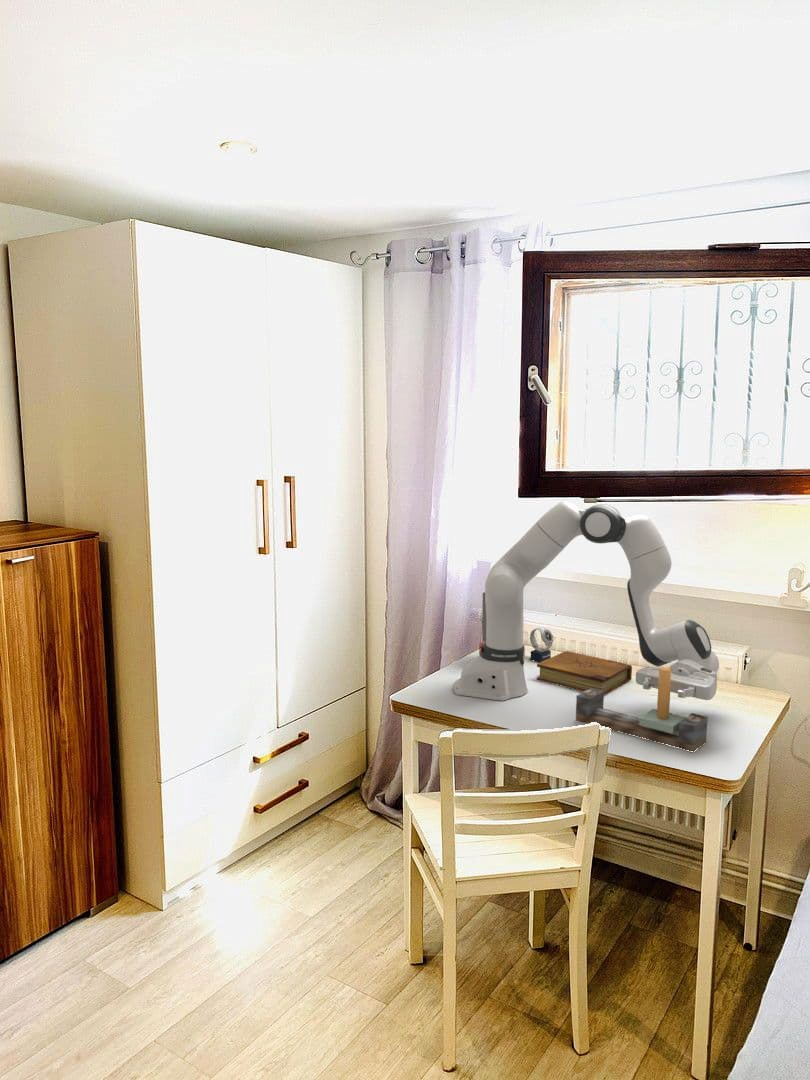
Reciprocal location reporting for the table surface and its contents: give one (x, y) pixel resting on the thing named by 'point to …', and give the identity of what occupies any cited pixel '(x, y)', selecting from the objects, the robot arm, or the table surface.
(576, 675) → the diary
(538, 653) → the watch
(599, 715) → the rail
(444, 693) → the table surface
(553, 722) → the table surface
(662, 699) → the slider with orange handle
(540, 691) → the table surface
